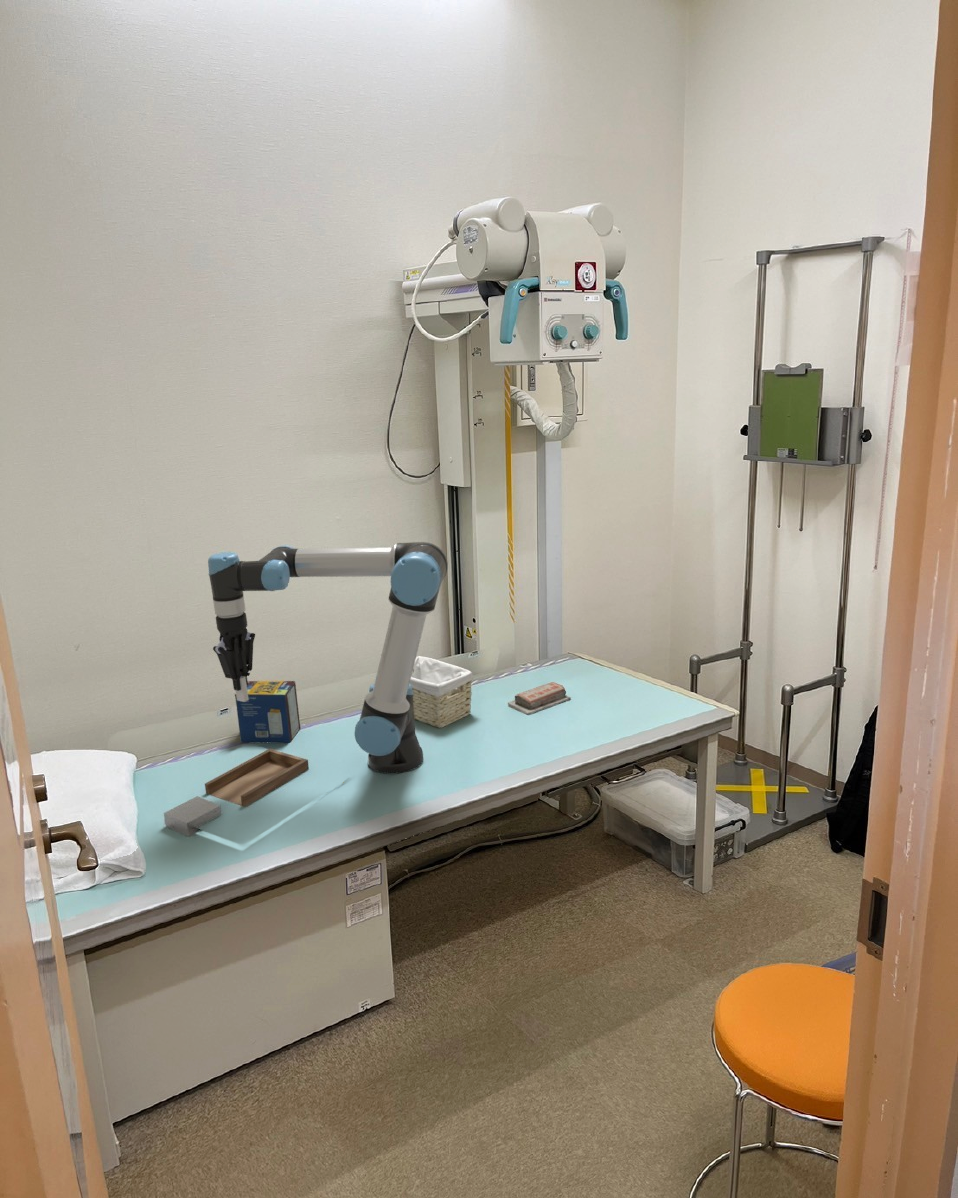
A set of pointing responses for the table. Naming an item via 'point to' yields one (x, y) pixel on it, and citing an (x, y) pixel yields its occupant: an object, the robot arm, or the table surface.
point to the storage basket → (440, 692)
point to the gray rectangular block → (191, 815)
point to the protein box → (269, 712)
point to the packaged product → (539, 698)
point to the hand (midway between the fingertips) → (242, 700)
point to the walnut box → (256, 777)
